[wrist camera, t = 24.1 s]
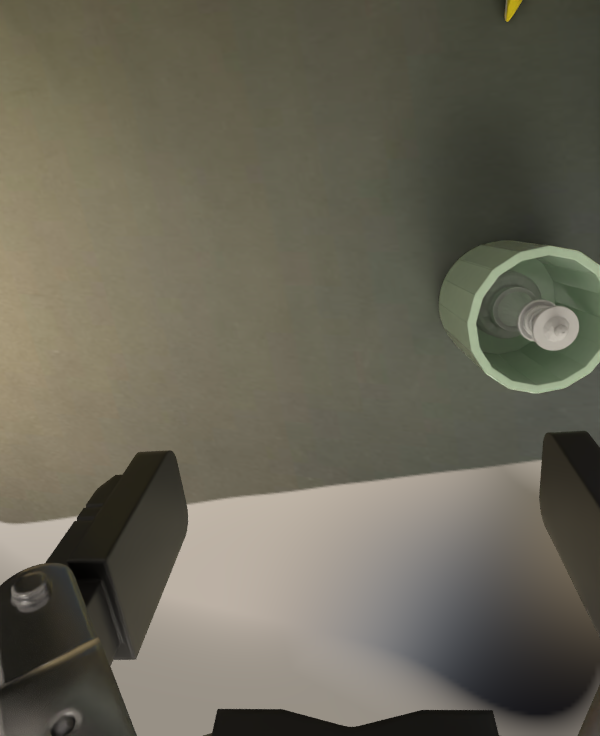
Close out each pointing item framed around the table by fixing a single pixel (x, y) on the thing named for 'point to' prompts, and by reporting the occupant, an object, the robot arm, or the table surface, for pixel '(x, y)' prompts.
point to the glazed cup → (519, 355)
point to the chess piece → (525, 313)
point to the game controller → (511, 8)
